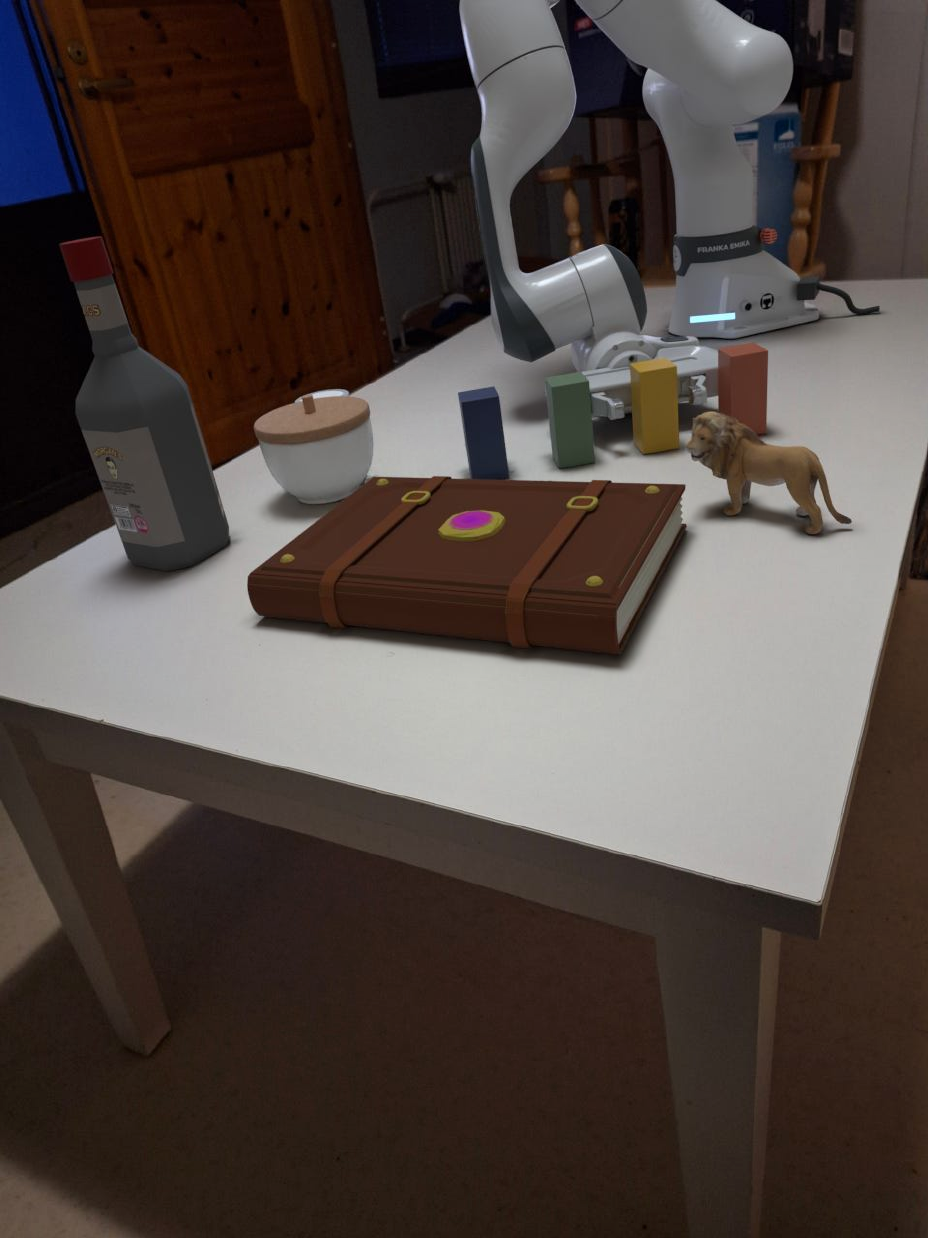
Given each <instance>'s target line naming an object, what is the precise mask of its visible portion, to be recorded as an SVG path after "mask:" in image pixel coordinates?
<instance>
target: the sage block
mask: <svg viewBox="0 0 928 1238" xmlns="http://www.w3.org/2000/svg"><path fill="white" fill-rule="evenodd" d="M544 385H545V388H546V394H545V396H546V395H547V396H546V403H547V415H548V424H549V433H550V434H549V435H550V444H551V454H552V458H553V460H554V462H555V463H556V465H557V467H558V468H559V469H564V468H571V467H577V466H583V465H587V464H593V463H596V456H595V455H596V454H595V443H594V442H595V441H594V440H595V439H594V430H593V429H594V428H593V417H592V414H591V400H590V387H589V380H588V379H587V378H586V377H585V376H584V375H583V374H582V372H577V371H576V372H571V373H566V374H559V375H554V376H553V375H552V376H548V377H545V378H544Z"/></svg>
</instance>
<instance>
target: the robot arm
mask: <svg viewBox="0 0 928 1238" xmlns="http://www.w3.org/2000/svg"><path fill="white" fill-rule="evenodd" d="M560 1H561V0H459V7H458V9H459V10H458V11H459V16H460V25H461V31H462V36H463V42H464V48H465V52H466V56H467V60H468V65H469V68H470V72H471V76H472V79H473V82H474V85H475V88H476V91H477V95H478V98H479V102H480V108H481V128H480V133H479V136H478V137H477V139H476V140H475V141H474V142H473V144H472V145H471V149H470V171H471V172H470V173H471V180H472V187H473V193H474V203H475V210H476V215H477V220H478V221H477V223H478V227H479V232H480V238H481V245H482V250H483V256H484V262H485V266H486V272H487V277H488V282H489V289H490V317H491V325H492V329H493V333H494V336H495V339H496V341H497V343H498V344H499V346H500V347H501V349H502V350H503V353H504V354H506V355H508V356H509V357H511V358H514V359H516V360H520V361H524V362H528V363H534V362H536V361H538V360H540V359H541V358H544V357H546V356H548V355H550V354H551V353H552V354H553V353H554V352H556V350H557V349H561V348H563V347H565V346H567V345H570V355H571V360H572V363H573V367H574V368H575V369H574V370H575V371H576V372H582V374H583V375H584V376H585V377H586V378H587V379H588V380H589V387H590V400H591V414H592V418H597V417H605V418H607V417H608V419H609V420H611V421H613V420H618V419H624V418H625V414H632V398H631V379H630V363H636V362H642V361H648V360H654V359H660V358H667V359H668V360H670V361H671V362H672V363H673V364H675V365H676V366H677V390H678V404H679V403H683V402H684V403H685V402H688V403H689V404H690V405H691V406H693V407H694V406H700V405H701V406H702V405H705V404H706V405H707V403H708V398H714V397H718V350H716V349H714V348H712V347H709V346H706V345H700V342H699V339H698V338H719V339H720V338H721V339H738V338H742V337H743V338H744V337H747V336H751V335H756V334H760V333H765V332H769V331H774V330H777V329H782V328H783V329H784V328H788V327H791V326H792V327H793V326H795V325H800V324H805V323H808V322H813V321H817V320H819V318H820V310H819V308H818V307H817V306H815V305H813V304H812V303H809V302H806V301H815V300H816V298H817V296H818V295H819V294H820V291H822V292H825V293H828V294H829V293H830V294H833V295H835V296H838V297H840V298H841V299H843V301H844V302H845V305H846V308H847V309H848V311H849V312H851V314H854V315H859V316H865V315H870V314H873V313H879V312H880V310H881V309H880V307H881V306H880V305H875V306H871V307H866V308H858V307H856V306H855V304H854V303H853V300H852V298H851V296H850V295H849V294H848V292H846V291H844V290H842V289H841V288H838V287H835V286H831V285H827V284H823V283H821V275H809V276H807V275H805V276H802V277H801V278H800V275H799V274H798V273H796V271H795V270H793V269H792V268H790V267H789V266H787V265H786V264H784V263H783V262H782V261H780V260H779V259H778V258H776V257H775V256H773V255H772V254H771V253H769V252H767V251H766V250H765V244H769V245H770V244H773V243H775V242H776V240H777V239H778V231H776V229H774V228H770V227H766V228H761V227H758V226H757V225H755V224H754V218H753V217H754V170H753V166H752V165H751V163H750V161H749V160H748V158H746V157H745V156H744V154H743V153H742V152H741V149H740V147H739V145H738V142H737V140H736V137H735V132H734V129H733V126H734V125H736V126H737V125H743V124H747V123H749V122H752V121H754V120H757V119H760V118H761V117H764V116H766V115H768V114H770V113H772V112H773V111H775V110H776V109H778V107H779V106H780V105H781V104H782V103H783V101H784V100H785V98H786V96H787V95H788V92H789V90H790V88H791V84H792V80H793V74H794V60H793V55H792V51H791V49H790V47H789V44H788V42H787V41H786V40H785V39H784V38H783V37H782V36H781V35H780V34H778V33H775V32H773V31H769V30H766V29H764V28H761V27H759V26H757V25H755V24H752V23H750V22H748V21H747V20H746V19H743V17H741V16H739V15H737V14H736V13H735V12H733V11H732V10H731V9H729V8H727V7H726V6H725V5H723V4H721V3H720V2H719V1H718V0H574V1H575V2H576V3H577V5H578V7H580V9H581V10H583V12H584V13H585V14H586V15H587V16H588V17H589V18H590V19H591V21H592V22H593V23H594V24H595V25H596V26H597V27H598V28H599V30H601V31H602V32H603V33H604V34H605V36H607V38H608V39H610V41H611V42H612V43H613V44H614V45H615V46H616V47H617V48H618V49H619V50H620V51H621V52H622V53H623V54H624V55H625V57H626V58H628V59H629V60H630V61H631V62H633V63H635V64H637V65H638V66H643V67H645V68H646V69H647V70H646V72H645V75H644V78H643V82H642V100H643V104H644V107H645V111H646V112H647V114H648V115H649V116H650V117H651V119H652V120H653V121H654V122H655V124H656V125H657V127H658V129H659V131H660V133H661V135H662V138H663V142H664V145H665V148H666V151H667V154H668V158H669V162H670V166H671V170H672V176H673V185H674V197H675V198H674V199H675V200H674V201H675V223H676V224H675V225H676V234H675V235H674V236H673V247H672V248H673V249H672V257H673V260H672V261H673V269H674V274H675V288H674V289H675V290H674V299H673V307H672V311H671V312H672V313H671V317H670V322H669V325H668V329H667V330H668V332H669V333H670V334H672V335H675V336H663V337H661V336H652V335H647V334H646V335H645V334H640V332H641V333H642V332H643V329H644V326H645V324H646V320H647V316H648V315H647V314H648V304H647V298H646V292H645V288H644V285H643V281H642V279H641V276H640V274H639V272H638V269H637V268H636V266H635V264H634V263H633V261H632V260H631V259H630V258H629V256H627V255H626V254H625V253H623V252H622V251H621V250H619V249H617V248H616V247H615V246H612V245H611V244H607V243H602V244H600V245H597V246H594V247H591V248H589V249H586V250H583V251H581V252H577V253H576V254H573V255H571V256H568V257H567V258H565V259H563V260H560V261H558V262H557V261H556V262H555V263H552V264H550V265H548V266H545V267H542V268H540V269H537V270H535V271H532V272H527V273H526V272H523V271H522V270H521V269H520V266H519V259H518V252H517V246H516V239H515V234H514V228H513V227H514V226H513V222H512V216H511V207H510V205H511V198H512V195H513V192H514V190H515V189H516V187H517V185H518V183H519V182H520V181H521V180H522V178H524V176H525V175H526V174H527V173H528V172H529V171H530V170H531V169H532V168H533V167H534V166H535V165H536V164H538V162H540V161H541V159H543V158H544V157H545V156H546V155H548V153H549V152H550V151H551V150H552V149H553V148H554V147H555V145H557V143H558V142H559V141H560V140H561V138H562V137H563V135H564V134H565V132H566V131H567V129H568V127H569V126H570V123H571V121H572V118H573V116H574V113H575V109H576V105H577V104H576V103H577V91H576V85H575V79H574V75H573V71H572V65H571V63H570V60H569V56H568V53H567V50H566V47H565V44H564V41H563V37H562V35H561V32H560V29H559V27H558V24H557V21H556V19H555V16H554V13H553V12H552V10H551V8H553V7H554V6H555V5H557V4H558V3H559V2H560ZM544 395H545V397H547V395H546V387H545V388H544Z"/></svg>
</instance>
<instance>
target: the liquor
mask: <svg viewBox="0 0 928 1238" xmlns="http://www.w3.org/2000/svg"><path fill="white" fill-rule="evenodd" d="M58 246H59V248H60V252H61V255H62V258H63V261H64V264H65V267H66V270H67V273H68V276H69V280H70V282H73V284H74V287H75V291H76V294H77V297H78V299H79V300H78V301H79V303H80V307H81V309H82V313H83V315H84V316H83V317H84V318H85V321H86V324H87V329H88V332H89V335H90V338H91V341H92V347H91V350H92V353H93V355H94V358H93V360H92V362H91V364H90V367H89V369H88V371H87V374H86V376H85V378H84V380H83V382H82V384H81V387H80V389H79V391H78V394H77V396H76V398H75V416H76V419H77V422H78V425H79V427H80V430H81V433H82V435H83V438H84V440H85V443H86V447H87V450H88V453H89V455H90V458H91V460H92V463H93V466H94V468H95V472H96V474H97V477H98V480H99V482H100V485H101V488H102V491H103V494H104V496H105V499H106V502H107V505H108V507H109V510H110V513H111V516H112V519H113V521H114V524H115V526H116V530H117V532H118V535H119V538H120V540H121V543H122V547H123V549H124V551H125V554H126V558H127V559H128V560H129V561H130V562H131V563H133V565H135V566H138V567H142V568H148V569H152V570H159V571H163V572H171V571H175V570H179V569H184V568H188V567H192V566H193V567H194V566H195V565H196V564H198V563H200V562H201V561H203V560H205V559H207V558H208V557H210V556H211V555H213V554H215V553H216V552H218V551H220V550H221V549H223V548H225V547H227V545H228V542H229V538H230V525H229V521H228V519H227V518H228V517H227V515H226V511H225V508H224V505H223V501H222V498H221V495H220V491H219V487H218V484H217V482H216V477H215V475H214V472H213V471H214V470H213V468H212V464H211V460H210V458H209V454H208V450H207V448H206V443H205V441H204V437H203V433H202V430H201V426H200V424H199V421H198V420H199V419H198V417H197V413H196V410H195V407H194V403H193V399H192V396H191V393H190V390H189V386H188V384H187V383H186V382H185V379H183V378H182V376H181V374H180V373H179V372H177V371H176V370H174V369H173V368H171V367H170V366H169V365H166V364H165V363H164V362H163V361H161V360H159V359H158V358H157V357H155V356H153V354H151V353H149V352H148V351H146V350H144V348H142V347H140V346H139V342H138V339H137V337H136V336H135V335H134V334H133V333H132V329H131V327H130V324H129V322H128V319H127V316H126V313H125V309H124V306H123V303H122V300H121V296H120V294H119V291H118V287H117V285H116V282H115V279H114V276H113V274H114V270H113V267H112V263H111V261H110V257H109V255H108V251H107V248H106V245H105V242H104V239H103V236H102V235H101V236H92V237H84V238H79V239H75V240H70V241H65V242H61V243H59V244H58Z"/></svg>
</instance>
